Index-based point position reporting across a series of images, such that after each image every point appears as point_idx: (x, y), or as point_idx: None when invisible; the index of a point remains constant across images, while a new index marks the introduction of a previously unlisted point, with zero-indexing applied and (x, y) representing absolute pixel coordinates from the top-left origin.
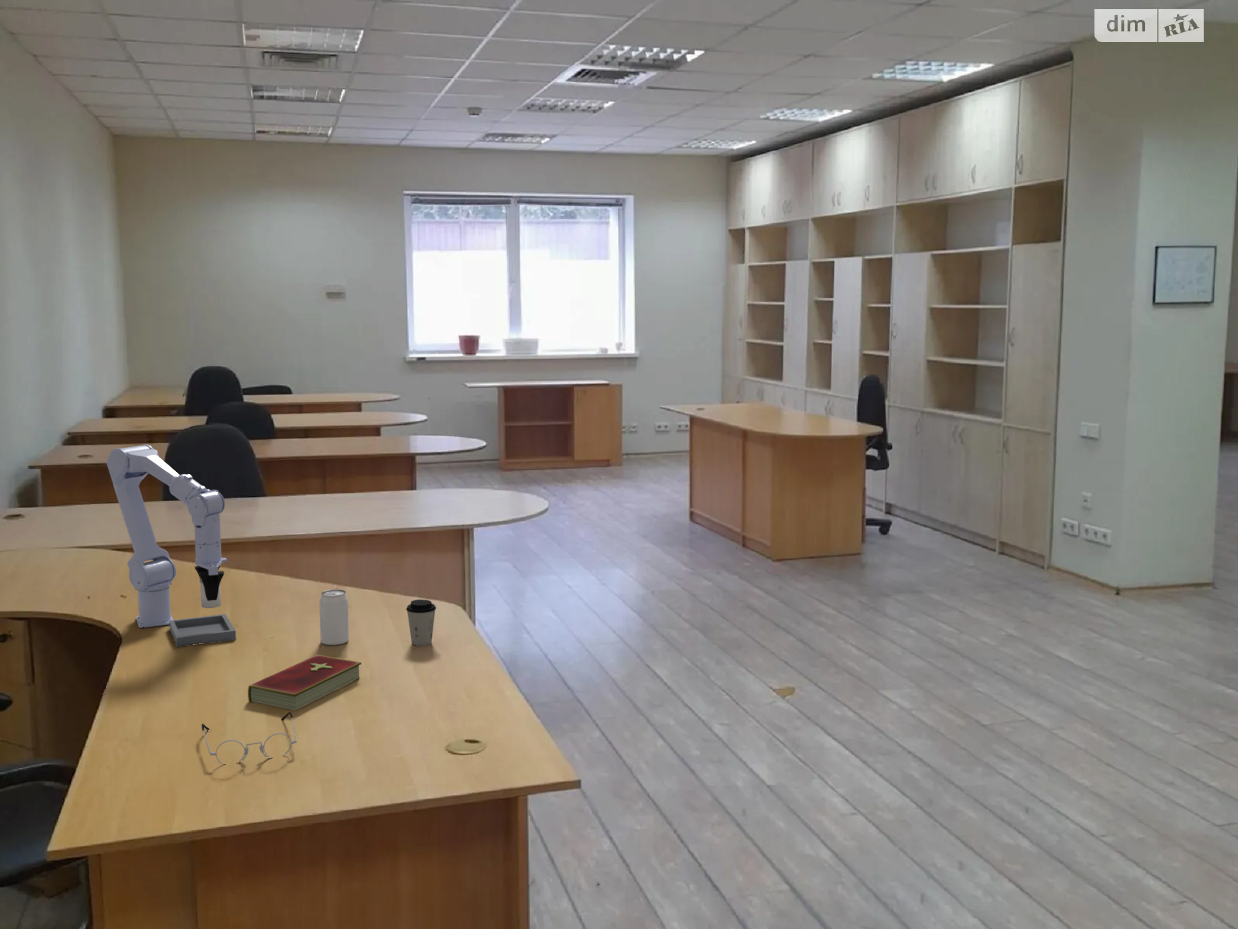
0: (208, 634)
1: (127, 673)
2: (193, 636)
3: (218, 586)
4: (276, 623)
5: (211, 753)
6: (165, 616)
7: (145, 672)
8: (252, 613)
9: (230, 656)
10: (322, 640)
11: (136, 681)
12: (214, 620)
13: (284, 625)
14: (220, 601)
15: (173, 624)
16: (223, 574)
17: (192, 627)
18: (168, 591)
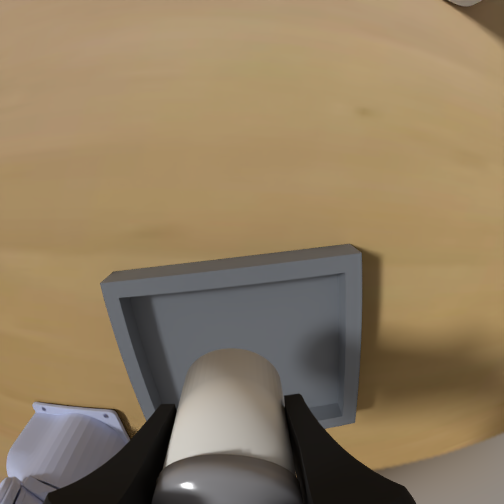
0: (360, 345)
1: (454, 444)
2: (357, 385)
3: (338, 445)
4: (178, 79)
5: None
6: (105, 438)
7: (469, 421)
8: (31, 176)
9: (485, 265)
10: (472, 4)
11: (496, 419)
12: (130, 317)
13: (218, 51)
14: (244, 362)
15: None
16: (407, 493)
17: (177, 379)
18: (62, 479)
